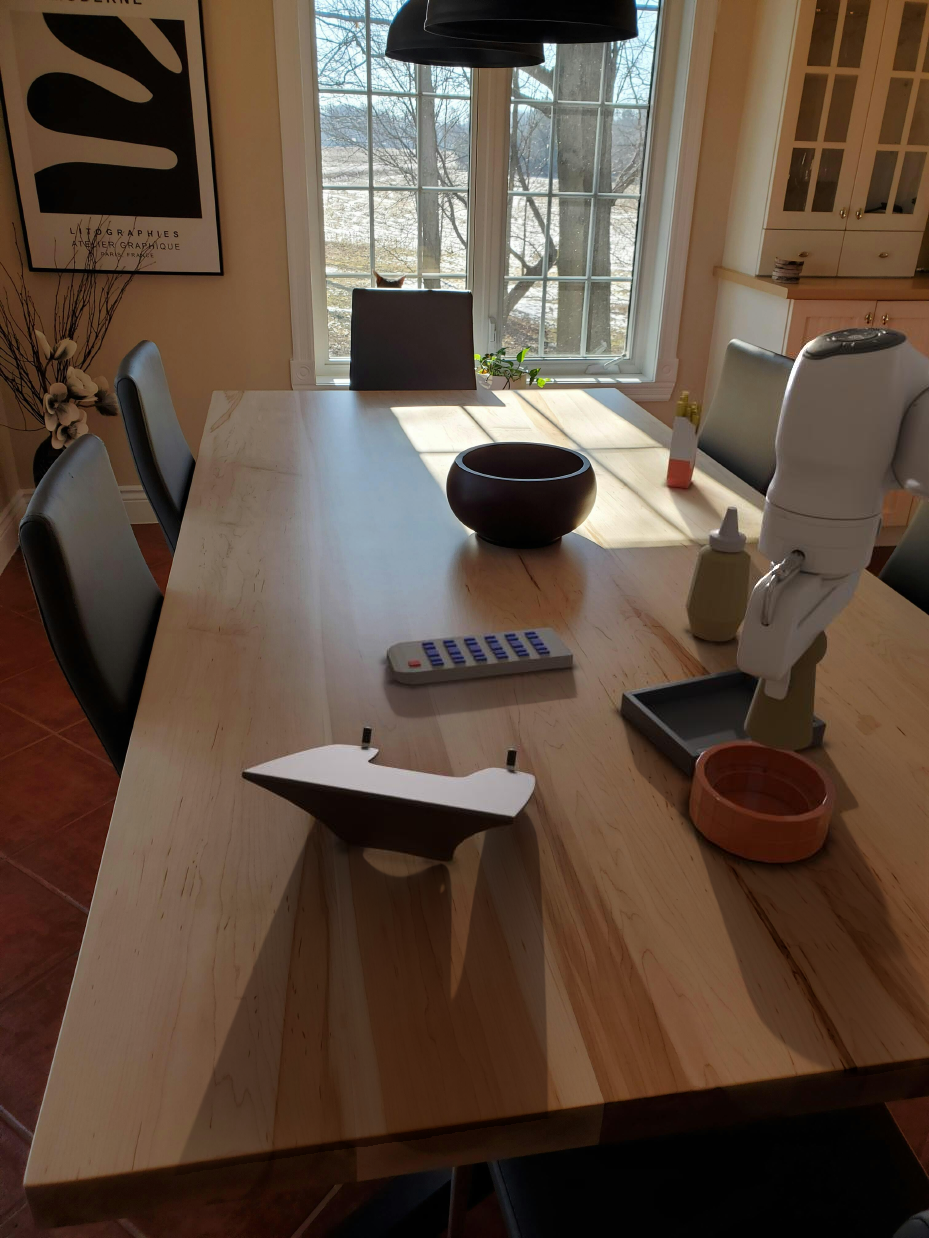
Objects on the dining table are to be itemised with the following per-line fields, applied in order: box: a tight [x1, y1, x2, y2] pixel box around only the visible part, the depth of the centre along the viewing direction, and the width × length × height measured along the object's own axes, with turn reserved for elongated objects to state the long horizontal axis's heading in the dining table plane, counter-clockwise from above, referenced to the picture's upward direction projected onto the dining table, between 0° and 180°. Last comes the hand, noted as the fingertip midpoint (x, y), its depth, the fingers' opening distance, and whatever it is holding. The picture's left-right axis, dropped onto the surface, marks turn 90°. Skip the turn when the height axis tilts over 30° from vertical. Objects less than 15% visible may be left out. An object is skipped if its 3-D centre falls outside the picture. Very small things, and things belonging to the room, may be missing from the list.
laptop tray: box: [241, 726, 536, 863], centre depth 83 cm, size 23×23×9 cm
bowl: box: [688, 741, 837, 864], centre depth 86 cm, size 13×13×5 cm
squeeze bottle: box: [685, 506, 751, 642], centre depth 119 cm, size 8×8×18 cm
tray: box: [619, 668, 827, 778], centre depth 101 cm, size 18×14×3 cm
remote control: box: [386, 627, 574, 686], centre depth 114 cm, size 8×23×2 cm, turn 105°
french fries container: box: [666, 390, 703, 490], centre depth 181 cm, size 5×11×18 cm, turn 160°
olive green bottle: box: [744, 630, 828, 751], centre depth 80 cm, size 6×6×11 cm
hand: (787, 681), depth 80 cm, fingers closed on olive green bottle, 4 cm apart
